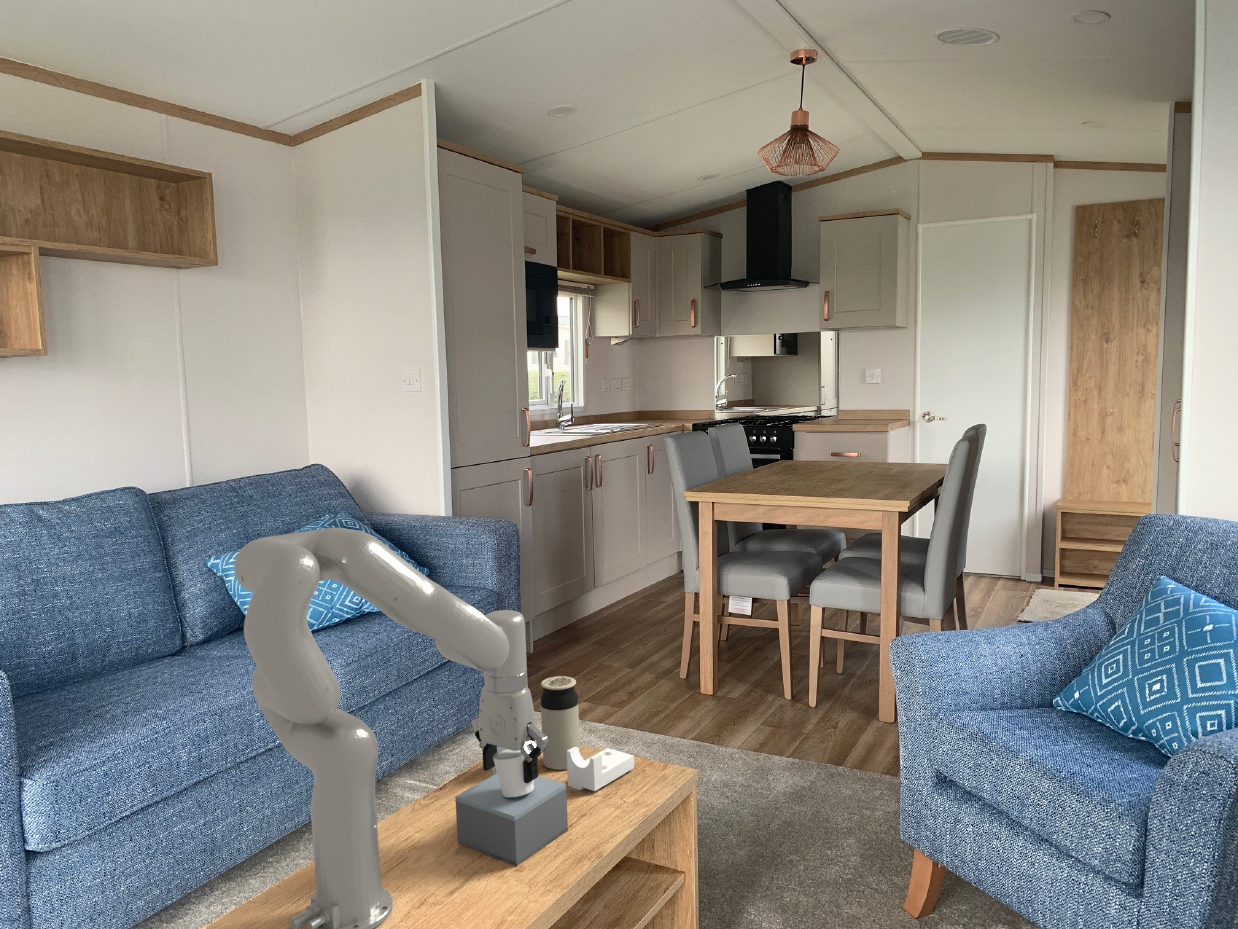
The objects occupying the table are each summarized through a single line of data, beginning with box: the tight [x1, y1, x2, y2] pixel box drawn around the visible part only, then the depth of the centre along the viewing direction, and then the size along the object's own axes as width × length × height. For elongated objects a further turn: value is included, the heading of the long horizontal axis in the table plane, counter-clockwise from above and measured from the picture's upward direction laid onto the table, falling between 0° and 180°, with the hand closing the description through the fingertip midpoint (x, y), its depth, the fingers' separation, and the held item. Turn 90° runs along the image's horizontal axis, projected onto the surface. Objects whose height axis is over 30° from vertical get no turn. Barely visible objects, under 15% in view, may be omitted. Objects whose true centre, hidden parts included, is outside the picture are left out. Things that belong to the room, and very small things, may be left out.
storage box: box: [455, 788, 569, 867], centre depth 157 cm, size 14×14×8 cm
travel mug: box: [540, 675, 581, 771], centre depth 187 cm, size 8×8×18 cm
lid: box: [454, 774, 567, 821], centre depth 156 cm, size 14×14×1 cm
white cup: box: [493, 746, 534, 797], centre depth 155 cm, size 7×7×7 cm
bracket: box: [566, 747, 635, 792], centre depth 179 cm, size 13×7×8 cm, turn 142°
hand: (510, 774), depth 156 cm, fingers open, 9 cm apart
